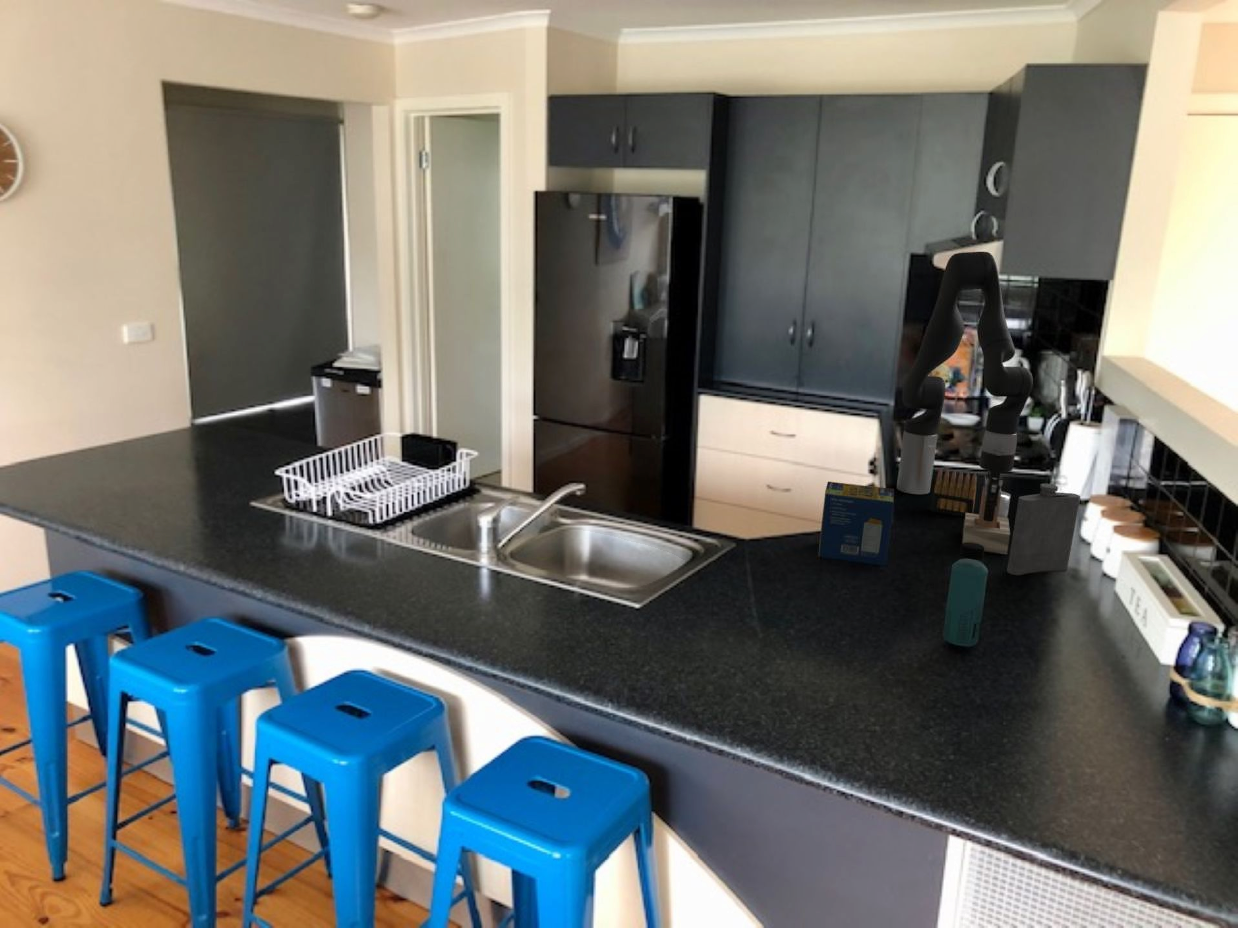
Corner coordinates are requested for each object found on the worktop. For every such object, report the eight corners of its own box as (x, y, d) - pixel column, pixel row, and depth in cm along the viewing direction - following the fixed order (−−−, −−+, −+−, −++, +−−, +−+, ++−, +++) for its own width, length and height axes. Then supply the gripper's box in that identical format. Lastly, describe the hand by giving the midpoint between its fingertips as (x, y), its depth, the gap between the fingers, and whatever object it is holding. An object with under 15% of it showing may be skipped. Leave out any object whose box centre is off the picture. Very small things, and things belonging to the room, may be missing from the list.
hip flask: (1013, 575, 213) (1027, 490, 207) (1001, 569, 216) (1014, 484, 211) (1070, 569, 218) (1085, 486, 213) (1057, 563, 222) (1071, 481, 216)
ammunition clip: (973, 516, 253) (979, 473, 250) (972, 518, 252) (978, 474, 249) (931, 509, 258) (937, 466, 255) (930, 510, 257) (936, 468, 253)
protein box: (820, 542, 228) (827, 480, 224) (887, 551, 225) (895, 488, 220) (817, 557, 219) (824, 492, 215) (886, 566, 215) (894, 501, 211)
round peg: (978, 521, 249) (983, 488, 247) (1004, 525, 247) (1010, 492, 245) (978, 528, 244) (984, 495, 241) (1005, 532, 242) (1011, 498, 239)
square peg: (977, 524, 235) (983, 485, 232) (994, 527, 234) (1000, 488, 231) (977, 529, 231) (983, 490, 229) (995, 532, 230) (1001, 492, 227)
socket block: (962, 531, 241) (965, 512, 240) (1005, 537, 238) (1008, 518, 236) (962, 547, 229) (965, 528, 228) (1006, 554, 226) (1010, 534, 225)
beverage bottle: (973, 657, 172) (989, 553, 167) (935, 647, 176) (950, 545, 170) (981, 644, 178) (996, 543, 172) (944, 635, 181) (959, 535, 176)
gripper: (981, 441, 235) (971, 507, 239) (981, 454, 222) (971, 524, 226) (1014, 445, 232) (1003, 512, 237) (1016, 458, 219) (1005, 529, 224)
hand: (987, 517), depth 232 cm, fingers closed on square peg, 4 cm apart
